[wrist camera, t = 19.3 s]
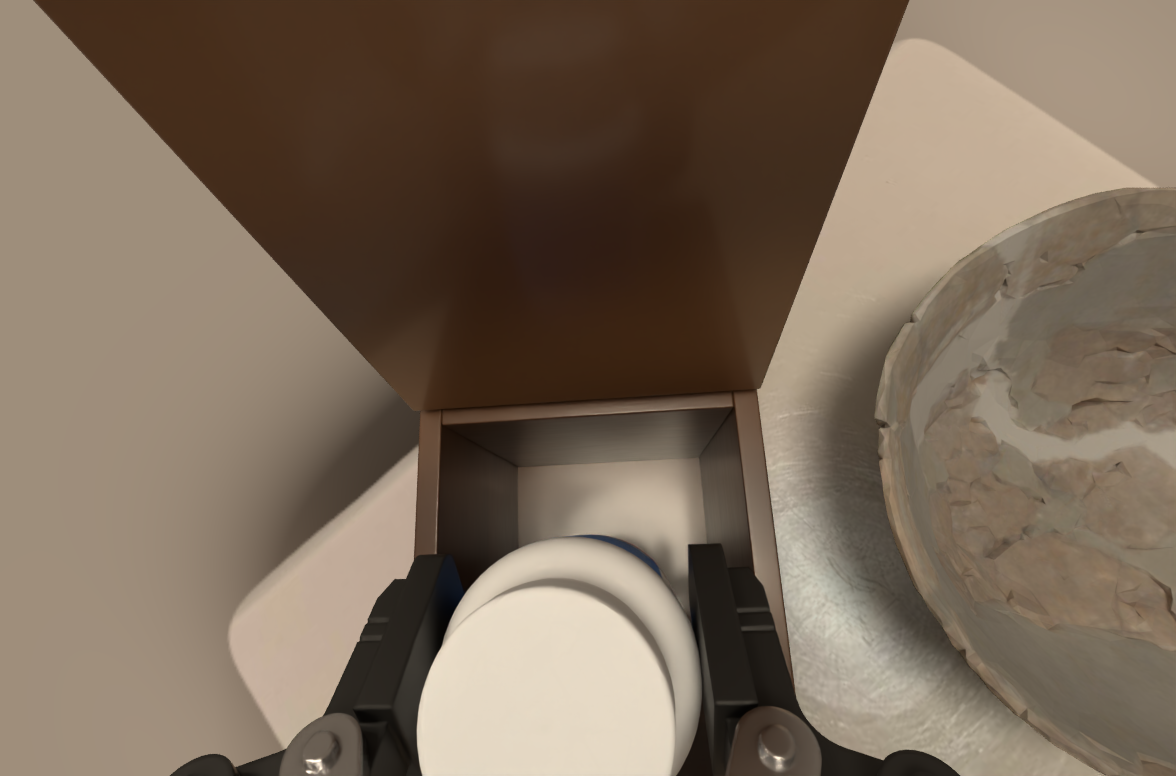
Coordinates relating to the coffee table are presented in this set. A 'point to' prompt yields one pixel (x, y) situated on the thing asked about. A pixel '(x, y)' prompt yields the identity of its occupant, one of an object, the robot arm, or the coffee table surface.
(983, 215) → the coffee table surface
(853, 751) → the robot arm
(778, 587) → the chest
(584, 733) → the pill bottle
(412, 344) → the lid
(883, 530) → the coffee table surface
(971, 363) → the ceramic bowl
